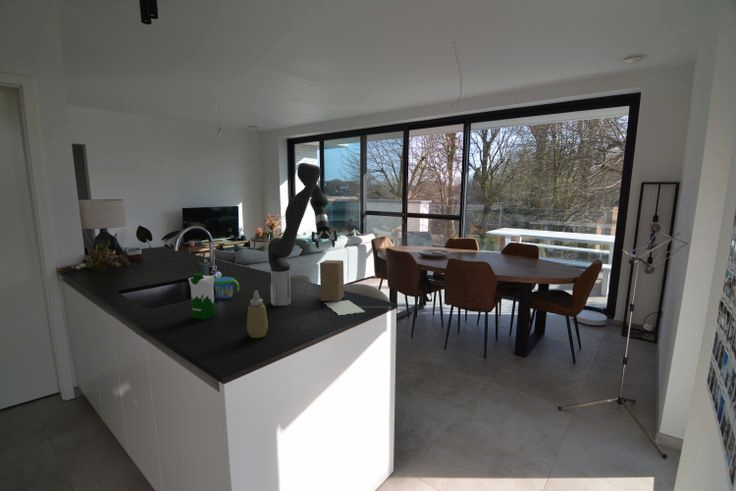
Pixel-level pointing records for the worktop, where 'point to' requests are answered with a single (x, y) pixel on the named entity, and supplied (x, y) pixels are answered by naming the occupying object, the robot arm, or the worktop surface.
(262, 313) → the squeeze bottle
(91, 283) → the worktop surface
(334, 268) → the wooden block
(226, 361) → the worktop surface
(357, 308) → the mat
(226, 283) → the snack cup
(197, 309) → the milk carton
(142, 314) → the worktop surface
